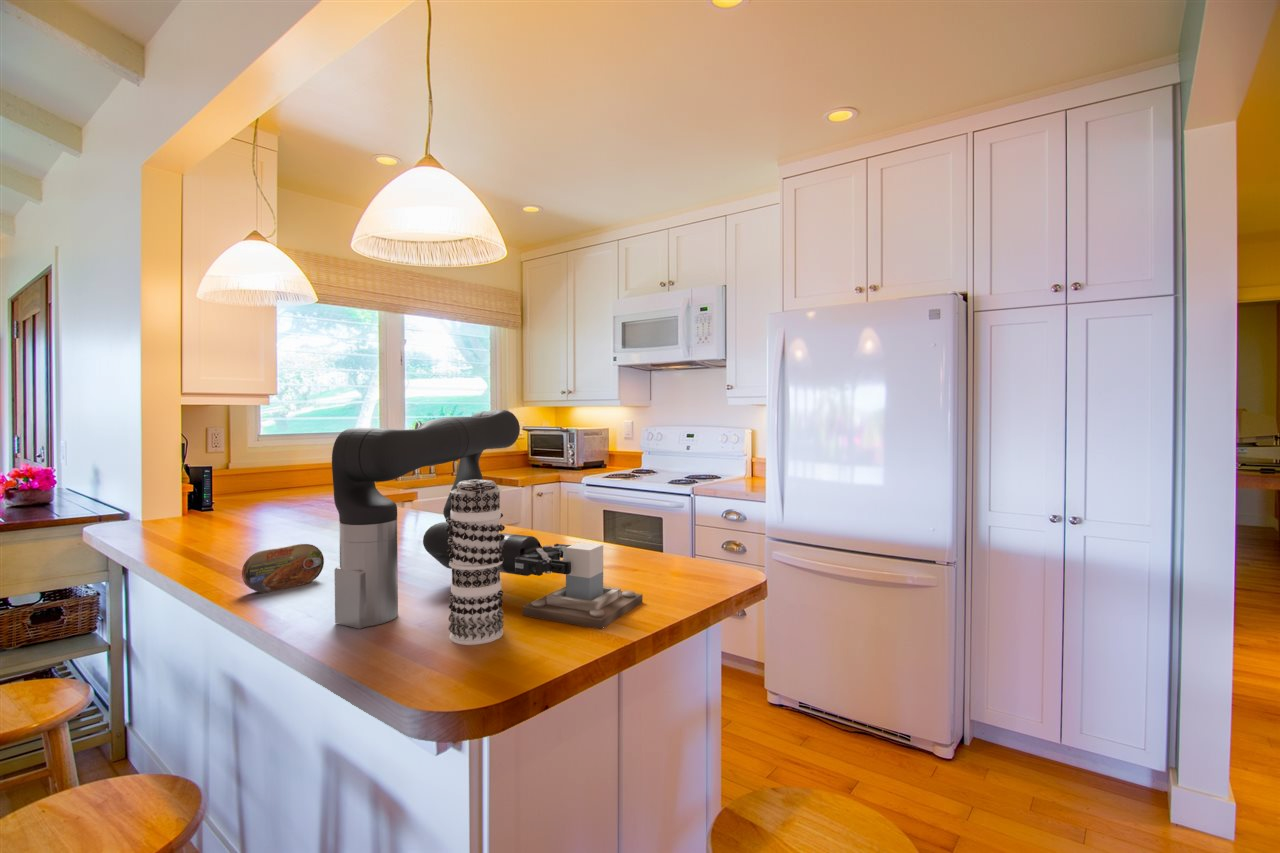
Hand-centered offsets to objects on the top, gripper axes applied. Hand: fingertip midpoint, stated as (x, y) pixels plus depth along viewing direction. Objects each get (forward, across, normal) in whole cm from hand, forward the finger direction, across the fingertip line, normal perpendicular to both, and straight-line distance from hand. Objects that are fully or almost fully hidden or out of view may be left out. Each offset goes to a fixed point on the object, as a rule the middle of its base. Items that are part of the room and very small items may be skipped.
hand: (582, 562), depth 111 cm
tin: (-63, -15, +9) cm, 65 cm away
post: (0, 0, +7) cm, 7 cm away
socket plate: (0, 0, +8) cm, 8 cm away
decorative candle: (-9, -19, +9) cm, 22 cm away
